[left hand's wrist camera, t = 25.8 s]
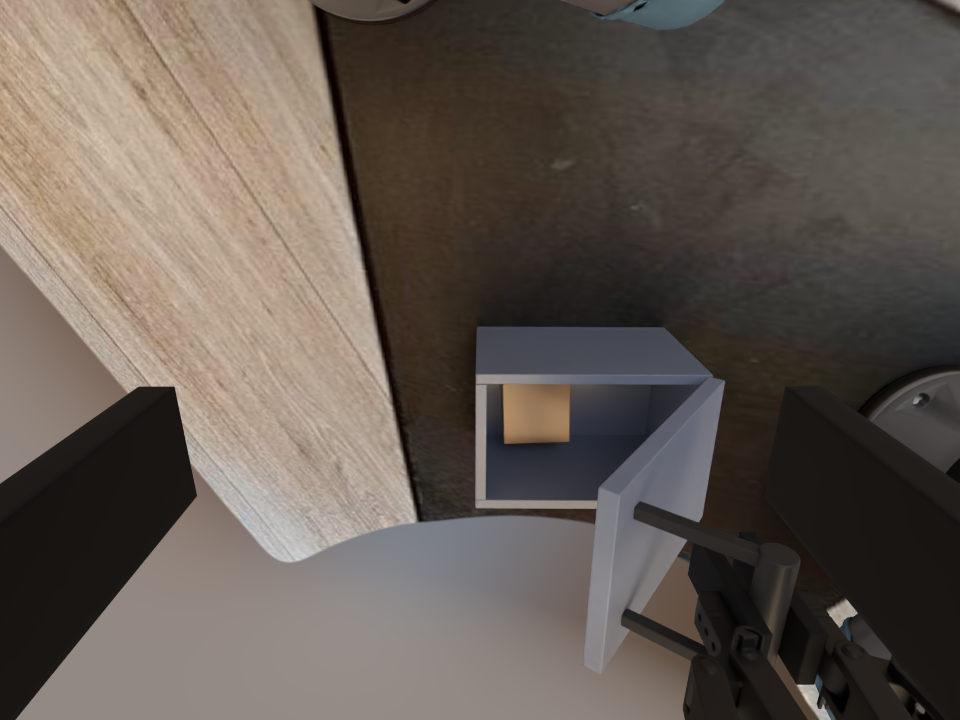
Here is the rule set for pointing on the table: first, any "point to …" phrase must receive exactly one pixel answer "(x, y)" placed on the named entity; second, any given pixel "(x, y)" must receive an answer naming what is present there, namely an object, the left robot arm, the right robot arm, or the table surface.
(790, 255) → the table surface
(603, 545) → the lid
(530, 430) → the block
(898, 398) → the right robot arm
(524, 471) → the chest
